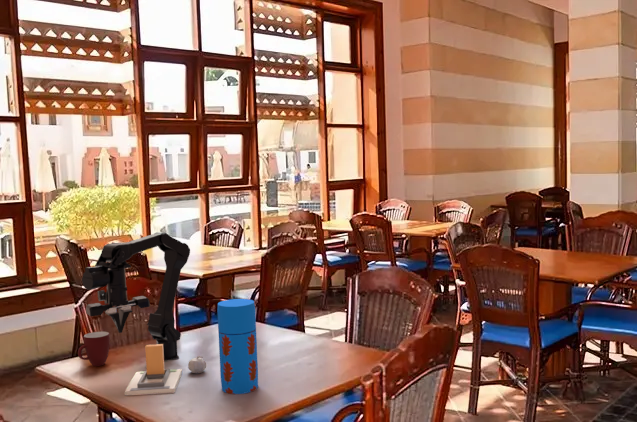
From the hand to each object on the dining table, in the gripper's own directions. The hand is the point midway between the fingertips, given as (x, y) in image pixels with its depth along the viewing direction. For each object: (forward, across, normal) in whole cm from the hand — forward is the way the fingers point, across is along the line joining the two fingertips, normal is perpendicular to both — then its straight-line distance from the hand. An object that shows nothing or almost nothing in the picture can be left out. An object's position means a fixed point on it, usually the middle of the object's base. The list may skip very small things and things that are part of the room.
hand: (120, 332), depth 218 cm
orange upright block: (+11, -5, +16) cm, 20 cm away
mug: (+13, +5, -13) cm, 19 cm away
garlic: (+13, -19, +16) cm, 28 cm away
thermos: (+13, -23, +37) cm, 46 cm away
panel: (+13, -4, +18) cm, 22 cm away
